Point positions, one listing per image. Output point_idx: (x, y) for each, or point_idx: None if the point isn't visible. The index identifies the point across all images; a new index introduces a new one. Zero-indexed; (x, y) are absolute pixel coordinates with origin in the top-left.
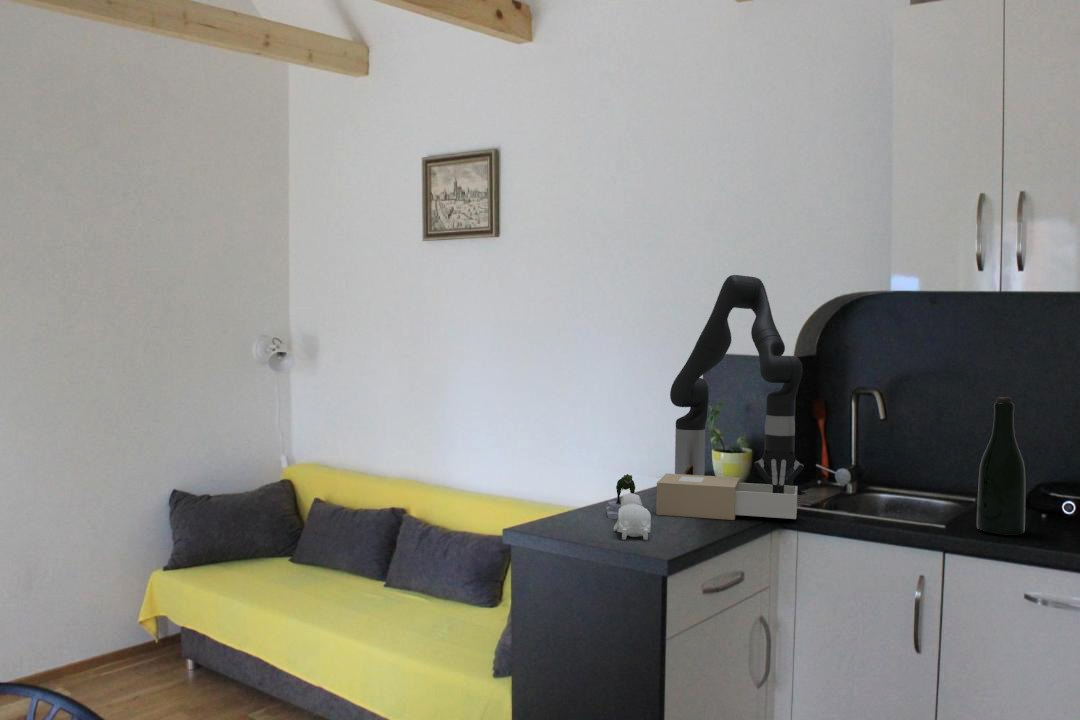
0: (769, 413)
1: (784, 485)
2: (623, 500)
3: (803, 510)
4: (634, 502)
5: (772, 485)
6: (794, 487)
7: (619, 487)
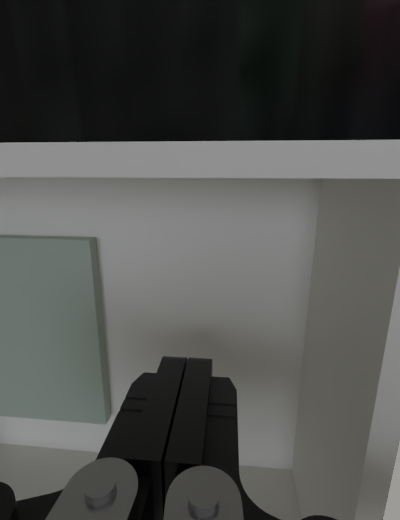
0: None
1: (248, 144)
2: None
3: (393, 17)
4: None
5: (77, 174)
6: (397, 175)
7: None
